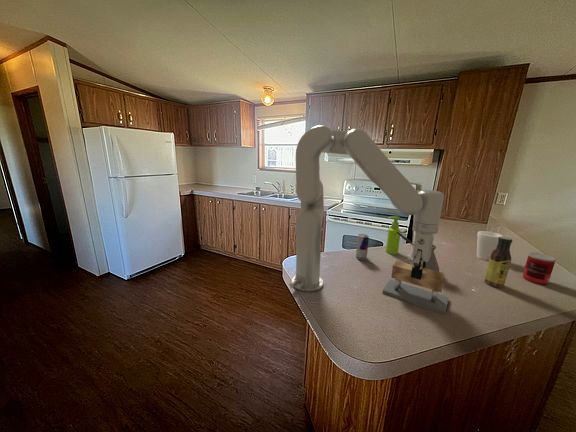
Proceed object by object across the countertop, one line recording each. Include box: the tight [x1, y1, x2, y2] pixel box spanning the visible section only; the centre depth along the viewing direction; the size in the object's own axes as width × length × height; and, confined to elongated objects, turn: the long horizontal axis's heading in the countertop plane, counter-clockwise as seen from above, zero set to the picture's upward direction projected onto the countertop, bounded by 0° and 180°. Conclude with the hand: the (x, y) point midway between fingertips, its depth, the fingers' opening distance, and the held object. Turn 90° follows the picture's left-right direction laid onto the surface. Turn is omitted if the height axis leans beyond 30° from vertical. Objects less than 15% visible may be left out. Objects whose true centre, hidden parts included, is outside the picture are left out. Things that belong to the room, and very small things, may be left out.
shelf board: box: [390, 260, 446, 293], centre depth 84 cm, size 16×5×5 cm, turn 53°
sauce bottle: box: [484, 236, 513, 288], centre depth 93 cm, size 6×6×20 cm
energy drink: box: [355, 233, 370, 261], centre depth 117 cm, size 5×5×12 cm
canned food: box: [522, 252, 556, 286], centre depth 97 cm, size 8×8×11 cm
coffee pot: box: [395, 232, 440, 272], centre depth 106 cm, size 21×12×15 cm, turn 31°
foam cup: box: [476, 230, 504, 261], centre depth 118 cm, size 10×9×13 cm
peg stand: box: [382, 279, 449, 315], centre depth 85 cm, size 10×20×6 cm, turn 52°
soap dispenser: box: [385, 215, 402, 256], centre depth 123 cm, size 6×7×20 cm
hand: (417, 273), depth 84 cm, fingers open, 6 cm apart
